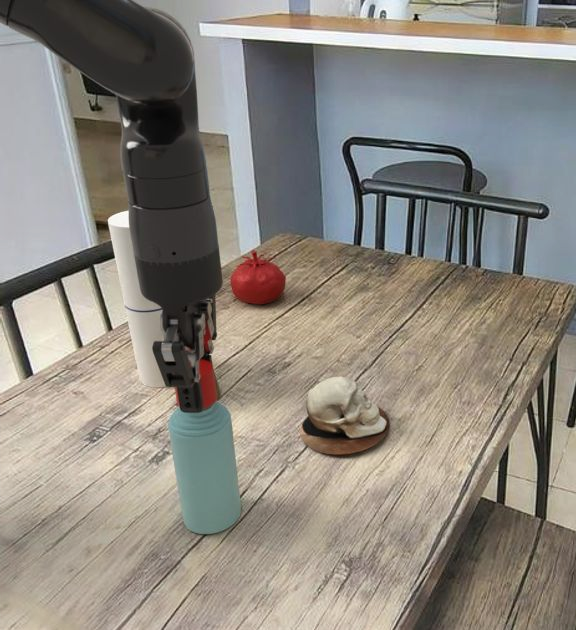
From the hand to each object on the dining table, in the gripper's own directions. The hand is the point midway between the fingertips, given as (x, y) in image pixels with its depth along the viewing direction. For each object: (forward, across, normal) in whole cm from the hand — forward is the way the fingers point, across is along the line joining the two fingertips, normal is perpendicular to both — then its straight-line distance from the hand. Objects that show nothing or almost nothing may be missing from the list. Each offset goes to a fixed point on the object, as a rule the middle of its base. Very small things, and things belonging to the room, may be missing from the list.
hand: (198, 397), depth 71 cm
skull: (+16, +16, -14) cm, 26 cm away
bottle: (+16, 0, 0) cm, 16 cm away
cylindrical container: (+16, +29, +14) cm, 36 cm away
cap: (0, 0, 0) cm, 0 cm away
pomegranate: (+16, +55, +4) cm, 58 cm away
